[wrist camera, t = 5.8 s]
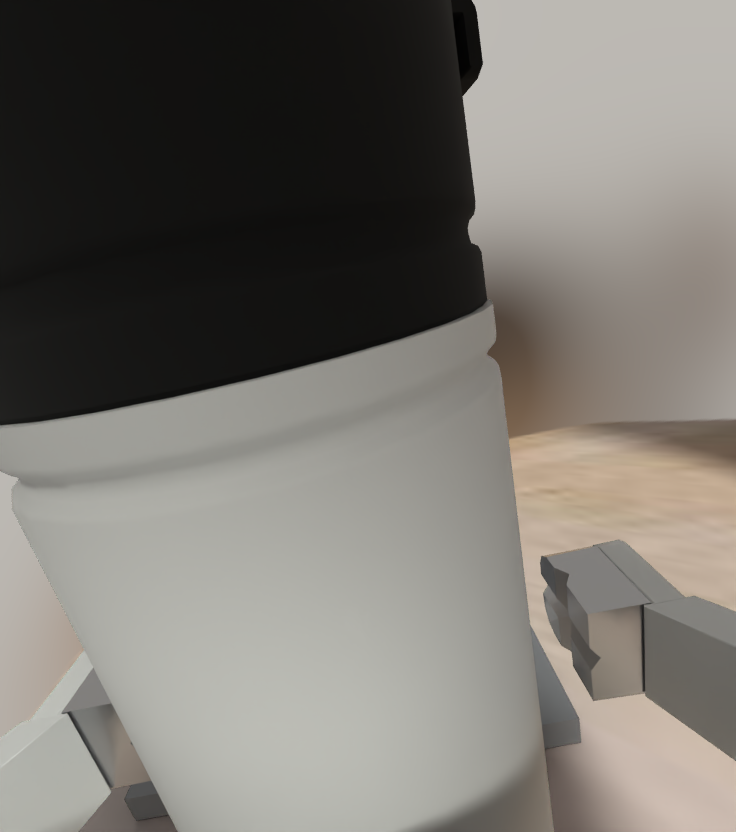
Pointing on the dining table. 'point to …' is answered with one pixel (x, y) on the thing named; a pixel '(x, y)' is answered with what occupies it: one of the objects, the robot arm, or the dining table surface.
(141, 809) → the grey square tray
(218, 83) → the travel mug
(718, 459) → the dining table surface
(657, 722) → the dining table surface
